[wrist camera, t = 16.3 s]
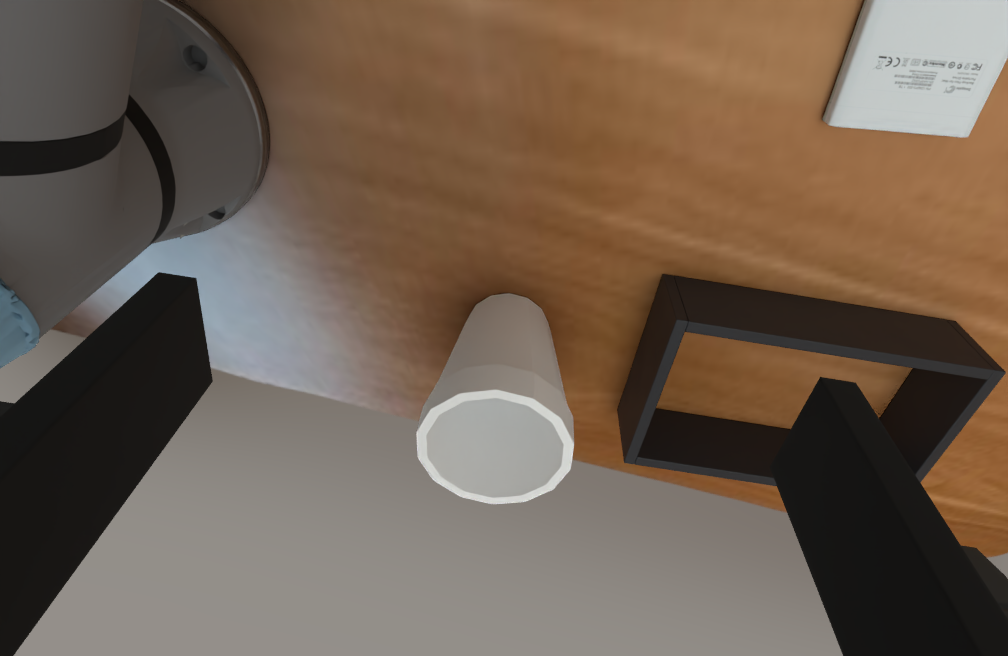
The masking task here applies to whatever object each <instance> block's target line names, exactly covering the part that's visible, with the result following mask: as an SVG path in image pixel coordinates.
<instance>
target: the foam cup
mask: <svg viewBox="0 0 1008 656" xmlns="http://www.w3.org/2000/svg"><path fill="white" fill-rule="evenodd" d="M416 434H417V435H416V436H417V452H418V459H419V460H420V462H421V463H422V465H423V466H424V467H425V469H426V470H427V472H428V473H429V475H430V476H431V477H432V479H433V480H434V481H435V482H437V483H438V484H440V485H442V486H443V487H445V488H447V489H448V490H450V491H452V492H453V493H455V494H456V495H458V496H460V497H463V498H468V499H472V500H476V501H481V502H485V503H489V504H501V503H516V502H526V501H528V500H530V499H533V498H535V497H537V496H539V495H542V494H544V493H546V492H549V491H551V490H553V489H554V488H555V487H556V485H557V484H558V483H559V482H560V481H561V480H562V479H563V477H564V476H565V475H566V474H567V473H568V472H569V471H570V469H571V463H572V456H573V449H574V427H573V415H572V413H571V411H570V409H569V407H568V405H567V402H566V397H565V393H564V389H563V384H562V380H561V375H560V371H559V366H558V362H557V357H556V353H555V348H554V344H553V339H552V335H551V331H550V327H549V323H548V321H547V319H546V317H545V315H544V312H543V310H542V309H541V308H540V307H539V306H537V305H536V304H535V303H534V302H532V301H531V300H530V299H528V298H526V297H522V296H518V295H515V294H511V293H507V294H499V295H491V296H489V297H488V298H486V299H484V300H483V301H481V302H479V303H478V304H476V305H475V307H474V309H473V310H472V312H471V314H470V315H469V317H468V319H467V321H466V323H465V325H464V327H463V329H462V331H461V333H460V336H459V338H458V340H457V342H456V344H455V346H454V348H453V351H452V353H451V355H450V357H449V359H448V361H447V363H446V366H445V368H444V370H443V372H442V374H441V376H440V379H439V381H438V383H437V384H436V386H435V388H434V389H433V391H432V392H431V394H430V396H429V397H428V399H427V401H426V402H425V404H424V406H423V409H422V413H421V416H420V420H419V424H418V428H417V432H416Z"/></svg>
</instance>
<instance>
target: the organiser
mask: <svg viewBox="0 0 1008 656" xmlns="http://www.w3.org/2000/svg"><path fill="white" fill-rule="evenodd" d="M684 332H691V333H697V334H703V335H710V336H716V337H722V338H728V339H735V340H741V341H747V342H753V343H760V344H766V345H772V346H779V347H785V348H791V349H797V350H804V351H810V352H816V353H823V354H829V355H835V356H841V357H848V358H854V359H860V360H867V361H873V362H879V363H885V364H892V365H898V366H904V367H911V368H914V369H913V370H912V372H911V373H910V375H909V376H908V378H907V379H906V381H905V382H904V384H903V385H902V387H901V388H900V390H899V391H898V393H897V394H896V396H895V397H894V399H893V400H892V402H891V403H890V405H889V406H888V408H887V409H886V411H885V412H884V414H883V415H882V417H881V418H880V421H881V423H882V424H883V426H884V427H885V429H886V431H887V432H888V434H889V435H890V437H891V438H892V440H893V441H894V443H895V445H896V446H897V448H898V449H899V451H900V452H901V454H902V455H903V457H904V459H905V460H906V462H907V463H908V465H909V466H910V468H911V469H912V471H913V472H914V474H915V476H916V477H917V479H918V480H919V482H921V481H922V480H923V479H924V477H925V476H926V475H927V473H928V472H929V471H930V470H931V468H932V467H933V466H934V464H935V463H936V462H937V461H938V459H939V458H940V457H941V455H942V454H943V453H944V452H945V450H946V449H947V448H948V446H949V445H950V444H951V443H952V441H953V440H954V439H955V437H956V436H957V435H958V434H959V432H960V431H961V430H962V428H963V427H964V426H965V425H966V423H967V422H968V421H969V419H970V418H971V417H972V416H973V414H974V413H975V412H976V410H977V409H978V408H979V407H980V405H981V404H982V403H983V401H984V400H985V399H986V398H987V396H988V395H989V394H990V392H991V391H992V390H993V389H994V387H995V386H996V385H997V383H998V382H999V381H1000V380H1001V378H1002V377H1003V376H1004V374H1005V373H1006V372H1005V371H1004V370H1003V369H1002V368H1001V367H1000V366H999V365H998V364H997V363H996V362H995V361H994V360H993V359H992V358H991V357H990V356H989V355H988V354H987V353H986V352H985V351H984V350H983V349H982V348H981V347H980V345H979V344H978V343H977V342H976V341H975V340H974V339H973V338H972V337H971V336H970V335H969V334H968V333H967V332H966V331H965V330H964V329H963V328H962V327H961V326H960V325H959V324H958V323H957V322H955V321H950V320H945V319H939V318H933V317H927V316H920V315H914V314H908V313H902V312H896V311H889V310H883V309H877V308H871V307H865V306H858V305H852V304H846V303H840V302H834V301H828V300H821V299H815V298H809V297H803V296H797V295H790V294H784V293H778V292H772V291H766V290H759V289H753V288H747V287H741V286H735V285H729V284H722V283H716V282H710V281H704V280H698V279H691V278H685V277H679V276H672V275H666V274H663V275H662V278H661V281H660V284H659V287H658V290H657V293H656V296H655V299H654V302H653V305H652V308H651V311H650V314H649V317H648V320H647V323H646V326H645V328H644V331H643V334H642V337H641V340H640V343H639V346H638V349H637V352H636V355H635V358H634V361H633V364H632V367H631V370H630V373H629V376H628V379H627V382H626V385H625V388H624V391H623V394H622V397H621V400H620V403H619V406H618V409H617V411H618V419H619V426H620V434H621V442H622V450H623V457H624V463H629V464H634V463H635V465H642V466H648V467H655V468H661V469H668V470H674V471H681V472H687V473H694V474H700V475H707V476H714V477H720V478H727V479H733V480H740V481H746V482H753V483H759V484H766V485H772V486H777V485H776V482H775V480H774V477H773V475H772V472H771V469H770V466H771V464H772V462H773V460H774V459H775V457H776V455H777V453H778V451H779V450H780V448H781V446H782V444H783V443H784V441H785V439H786V437H787V435H788V434H789V432H790V429H784V428H777V427H771V426H764V425H758V424H751V423H745V422H739V421H732V420H726V419H719V418H713V417H706V416H700V415H694V414H687V413H681V412H674V411H668V410H661V409H655V408H656V406H657V403H658V400H659V398H660V395H661V393H662V390H663V387H664V385H665V382H666V379H667V377H668V374H669V372H670V369H671V366H672V364H673V361H674V358H675V356H676V353H677V351H678V348H679V345H680V343H681V340H682V337H683V335H684Z"/></svg>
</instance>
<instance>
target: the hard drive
mask: <svg viewBox="0 0 1008 656" xmlns="http://www.w3.org/2000/svg"><path fill="white" fill-rule="evenodd" d="M1007 58H1008V0H865V1H864V4H863V7H862V9H861V12H860V15H859V18H858V20H857V23H856V26H855V29H854V32H853V35H852V37H851V40H850V43H849V46H848V49H847V52H846V54H845V57H844V60H843V63H842V66H841V69H840V71H839V74H838V77H837V80H836V83H835V86H834V88H833V91H832V94H831V97H830V100H829V102H828V104H827V107H826V111H825V113H824V116H823V119H822V120H823V121H824V122H825V123H827V124H828V125H830V126H834V127H844V128H857V129H870V130H882V131H894V132H905V133H916V134H927V135H939V136H951V137H968V136H969V134H970V132H971V130H972V128H973V126H974V124H975V122H976V120H977V118H978V116H979V114H980V112H981V110H982V108H983V106H984V104H985V102H986V100H987V98H988V96H989V94H990V92H991V90H992V88H993V86H994V84H995V82H996V80H997V78H998V76H999V74H1000V72H1001V70H1002V68H1003V66H1004V64H1005V62H1006V60H1007Z"/></svg>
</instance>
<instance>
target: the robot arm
mask: <svg viewBox="0 0 1008 656" xmlns="http://www.w3.org/2000/svg"><path fill="white" fill-rule="evenodd" d="M268 158H269V129H268V122H267V117H266V112H265V109H264V105H263V102H262V99H261V97H260V94H259V92H258V89H257V87H256V85H255V83H254V81H253V79H252V77H251V75H250V73H249V71H248V70H247V68H246V66H245V64H244V63H243V61H242V60H241V59H240V57H239V56H238V54H237V53H236V51H235V50H234V49H233V48H232V46H231V45H230V44H229V43H228V42H227V40H226V39H225V38H224V37H223V36H222V35H221V34H220V33H219V32H218V31H217V30H216V29H215V28H214V27H213V26H212V25H211V24H210V23H209V22H207V21H206V20H205V19H204V18H203V17H201V16H200V15H199V14H198V13H196V12H195V11H194V10H192V9H191V8H189V7H188V6H186V5H185V4H183V3H182V2H180V1H178V0H0V368H2V367H3V366H5V365H6V364H8V363H9V362H11V361H13V360H14V359H16V358H17V357H19V356H21V355H24V354H26V353H27V352H28V351H30V350H31V349H32V348H34V347H35V346H36V344H37V343H38V342H39V338H40V337H41V336H43V335H44V334H45V333H46V332H48V331H49V330H50V329H51V328H52V327H53V326H55V325H56V324H57V323H58V322H59V321H61V320H62V319H63V318H64V317H65V316H67V315H68V314H69V313H70V312H71V311H73V310H74V309H75V308H76V307H77V306H78V305H80V304H81V303H82V302H83V301H84V300H86V299H87V298H88V297H89V296H90V295H92V294H93V293H94V292H95V291H96V290H98V289H99V288H100V287H101V286H102V285H103V284H105V283H106V282H107V281H108V280H109V279H111V278H112V277H113V276H114V275H115V274H117V273H118V272H119V271H120V270H121V269H123V268H124V267H125V266H126V265H127V264H128V263H130V262H131V261H132V260H133V259H134V258H136V257H137V256H138V255H139V254H140V253H142V252H143V251H144V250H145V249H146V248H147V247H148V246H150V245H151V244H152V243H156V242H161V241H165V240H170V239H174V238H178V237H180V239H181V238H182V237H183V236H187V235H191V234H196V233H200V232H202V231H205V230H208V229H210V228H213V227H215V226H216V225H219V224H220V223H222V222H224V221H226V220H227V219H229V218H230V217H232V216H233V215H234V214H235V213H236V212H237V211H238V210H240V209H241V208H242V207H243V206H244V205H245V204H246V203H247V202H248V201H249V200H250V199H251V197H252V196H253V195H254V194H255V192H256V191H257V189H258V187H259V186H260V184H261V181H262V179H263V177H264V174H265V171H266V168H267V163H268ZM211 383H212V374H211V368H210V362H209V355H208V349H207V343H206V337H205V330H204V324H203V318H202V311H201V305H200V299H199V293H198V286H197V280H196V278H192V277H185V276H179V275H173V274H166V273H160V272H159V273H157V274H156V275H155V276H154V277H153V278H152V279H151V280H150V281H149V282H148V283H146V284H145V285H144V286H143V287H142V288H141V289H140V290H139V291H138V292H137V293H135V294H134V295H133V296H132V297H131V298H130V299H129V300H128V301H127V302H126V303H125V304H123V305H122V306H121V307H120V308H119V309H118V310H117V311H116V312H115V313H114V314H112V315H111V316H110V317H109V318H108V319H107V320H106V321H105V322H104V323H103V324H101V325H100V326H99V327H98V328H97V329H96V330H95V331H94V332H93V333H92V334H90V335H89V336H88V337H87V338H86V339H85V340H84V341H83V342H82V343H81V344H80V345H78V346H77V347H76V348H75V349H74V350H73V351H72V352H71V353H70V354H69V355H68V356H66V357H65V358H64V359H63V360H62V361H61V362H60V363H59V364H58V365H57V366H55V367H54V368H53V369H52V370H51V371H50V372H49V373H48V374H47V375H46V376H44V377H43V378H42V379H41V380H40V381H39V382H38V383H37V384H36V385H35V386H33V387H32V388H31V389H30V390H29V391H28V392H27V393H26V394H25V395H24V396H22V397H21V398H20V399H19V400H18V401H17V402H16V403H15V404H14V403H7V402H1V401H0V656H13V655H14V654H15V653H16V651H17V650H18V649H19V647H20V646H21V644H22V643H23V642H24V640H25V639H26V638H27V636H28V635H29V633H30V632H31V631H32V629H33V628H34V626H35V625H36V624H37V622H38V621H39V620H40V618H41V617H42V616H43V614H44V613H45V611H46V610H47V609H48V607H49V606H50V604H51V603H52V602H53V600H54V599H55V598H56V596H57V595H58V593H59V592H60V591H61V589H62V588H63V587H64V585H65V584H66V582H67V581H68V580H69V578H70V577H71V576H72V574H73V573H74V571H75V570H76V569H77V567H78V566H79V565H80V563H81V562H82V560H83V559H84V558H85V556H86V555H87V554H88V552H89V550H90V549H91V548H92V547H93V545H94V544H95V543H96V541H97V540H98V538H99V537H100V536H101V534H102V533H103V531H104V530H105V529H106V527H107V526H108V525H109V523H110V522H111V521H112V519H113V517H114V516H115V515H116V514H117V512H118V511H119V510H120V508H121V507H122V505H123V504H124V503H125V501H126V500H127V498H128V497H129V496H130V494H131V493H132V492H133V490H134V489H135V488H136V486H137V485H138V483H139V482H140V481H141V479H142V478H143V476H144V475H145V474H146V472H147V471H148V470H149V468H150V467H151V466H152V464H153V463H154V461H155V460H156V459H157V457H158V456H159V454H160V453H161V452H162V450H163V449H164V448H165V446H166V445H167V443H168V442H169V441H170V439H171V438H172V437H173V435H174V434H175V432H176V431H177V429H178V428H179V427H180V426H181V424H182V423H183V421H184V420H185V419H186V417H187V416H188V415H189V413H190V412H191V410H192V409H193V408H194V406H195V405H196V404H197V402H198V401H199V399H200V398H201V396H202V395H203V394H204V392H205V391H206V390H207V388H208V387H209V386H210V384H211ZM770 469H771V472H772V475H773V477H774V480H775V482H776V485H777V487H778V490H779V492H780V495H781V498H782V500H783V503H784V505H785V508H786V510H787V513H788V515H789V518H790V521H791V523H792V526H793V528H794V531H795V533H796V536H797V539H798V541H799V543H800V546H801V548H802V551H803V554H804V556H805V559H806V562H807V564H808V567H809V569H810V572H811V574H812V577H813V579H814V582H815V585H816V587H817V590H818V592H819V595H820V597H821V600H822V602H823V605H824V608H825V610H826V613H827V615H828V618H829V620H830V623H831V625H832V628H833V631H834V633H835V635H836V638H837V641H838V643H839V646H840V649H841V651H842V654H843V656H1008V579H1007V578H1006V576H1005V575H1004V574H1003V573H1001V572H1000V571H999V569H997V568H996V567H995V566H994V565H993V564H992V563H991V562H990V561H989V560H988V559H987V558H986V557H985V556H984V555H983V554H982V553H981V552H980V551H979V550H978V549H977V548H973V547H967V546H961V545H960V544H959V542H958V541H957V539H956V538H955V536H954V535H953V533H952V531H951V530H950V528H949V527H948V525H947V524H946V522H945V521H944V519H943V517H942V516H941V514H940V513H939V511H938V510H937V508H936V507H935V505H934V504H933V502H932V500H931V499H930V497H929V496H928V494H927V493H926V491H925V490H924V488H923V486H922V485H921V483H920V482H919V480H918V479H917V477H916V476H915V474H914V472H913V471H912V469H911V468H910V466H909V465H908V463H907V462H906V460H905V459H904V457H903V455H902V454H901V452H900V451H899V449H898V448H897V446H896V445H895V443H894V441H893V440H892V438H891V437H890V435H889V434H888V432H887V431H886V429H885V427H884V426H883V424H882V423H881V421H880V420H879V418H878V417H877V415H876V414H875V412H874V410H873V409H872V407H871V406H870V404H869V403H868V401H867V400H866V398H865V396H864V395H863V393H862V392H861V390H860V389H859V387H858V386H857V384H856V383H854V382H848V381H841V380H835V379H829V378H822V377H820V379H819V380H818V382H817V384H816V386H815V388H814V389H813V391H812V393H811V395H810V396H809V398H808V400H807V402H806V404H805V405H804V407H803V409H802V411H801V412H800V414H799V416H798V418H797V420H796V421H795V423H794V425H793V427H792V428H791V430H790V432H789V434H788V435H787V437H786V439H785V441H784V443H783V444H782V446H781V448H780V450H779V451H778V453H777V455H776V457H775V459H774V460H773V462H772V464H771V466H770Z"/></svg>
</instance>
